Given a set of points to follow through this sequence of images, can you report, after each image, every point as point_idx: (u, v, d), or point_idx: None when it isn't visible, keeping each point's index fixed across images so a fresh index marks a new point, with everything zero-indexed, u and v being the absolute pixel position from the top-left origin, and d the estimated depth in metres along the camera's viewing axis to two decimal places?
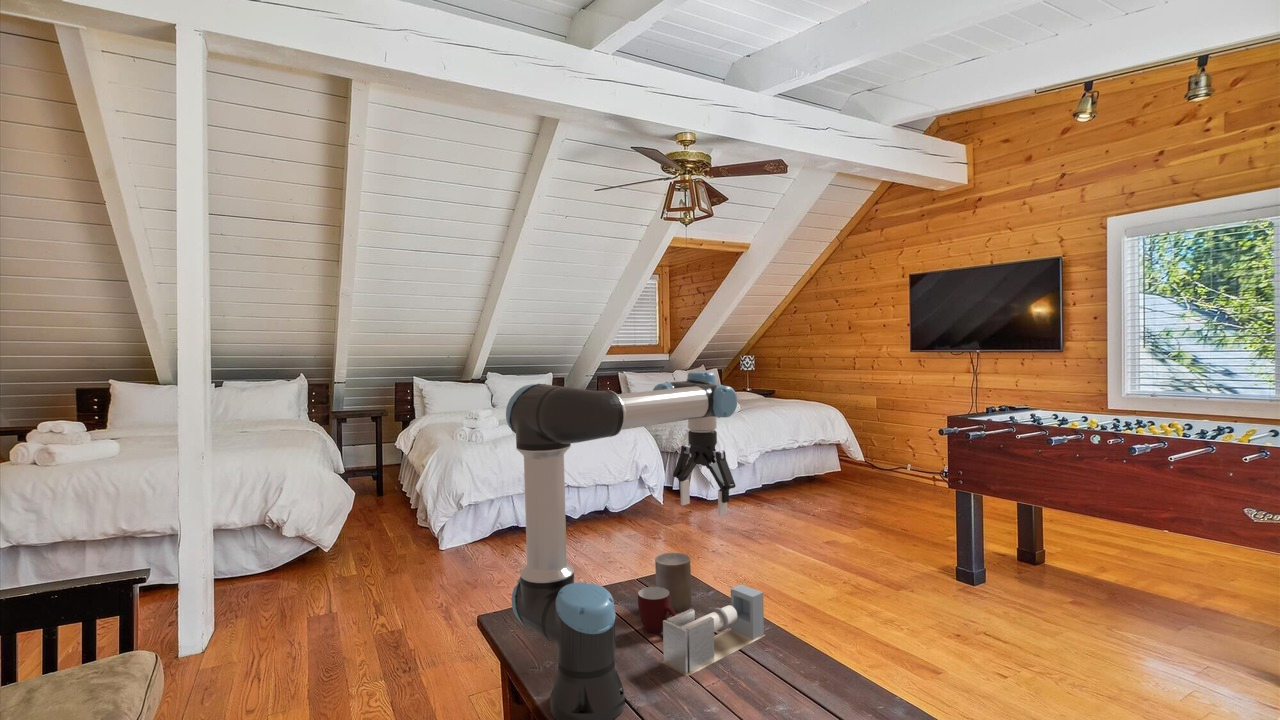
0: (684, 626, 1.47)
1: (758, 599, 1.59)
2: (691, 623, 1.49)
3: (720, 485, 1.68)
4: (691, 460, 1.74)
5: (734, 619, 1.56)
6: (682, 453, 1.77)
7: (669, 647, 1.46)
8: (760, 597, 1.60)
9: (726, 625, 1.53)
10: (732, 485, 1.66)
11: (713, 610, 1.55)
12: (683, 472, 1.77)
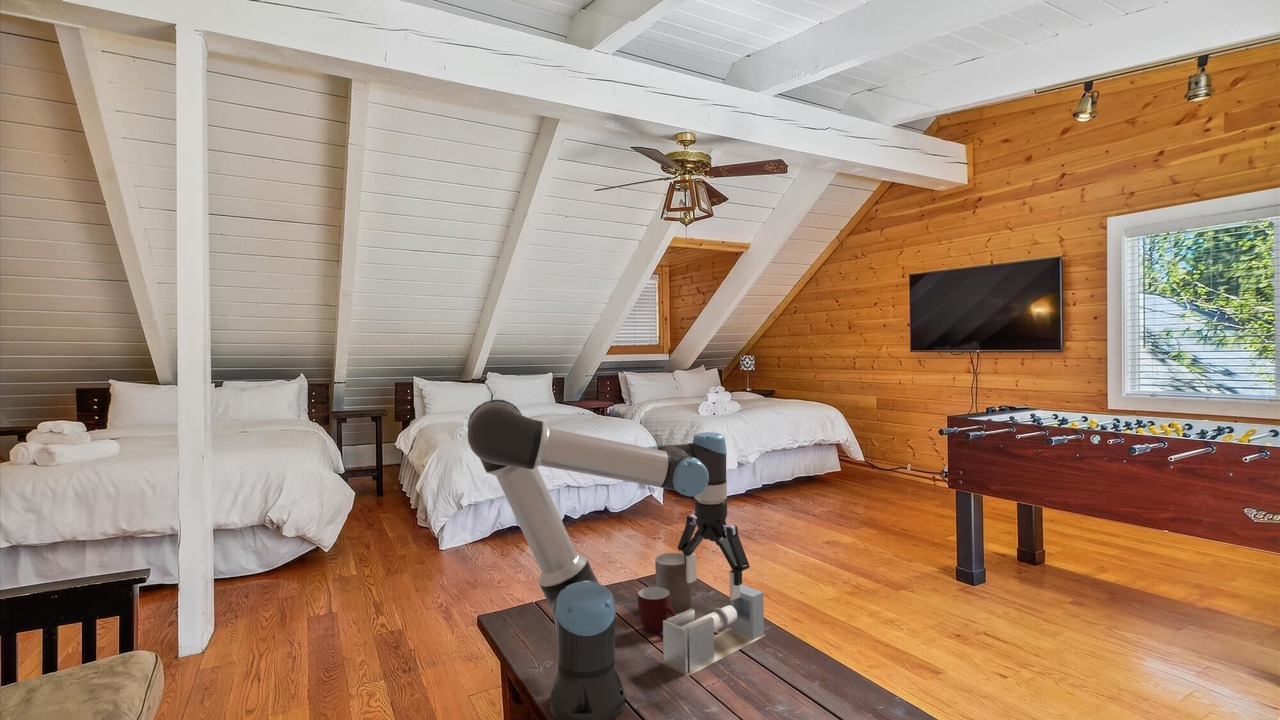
0: (684, 626, 1.47)
1: (758, 599, 1.59)
2: (691, 623, 1.49)
3: (732, 565, 1.46)
4: (698, 534, 1.53)
5: (734, 619, 1.56)
6: (688, 524, 1.56)
7: (669, 647, 1.46)
8: (760, 597, 1.60)
9: (726, 625, 1.53)
10: (746, 566, 1.45)
11: (713, 610, 1.55)
12: (689, 546, 1.56)
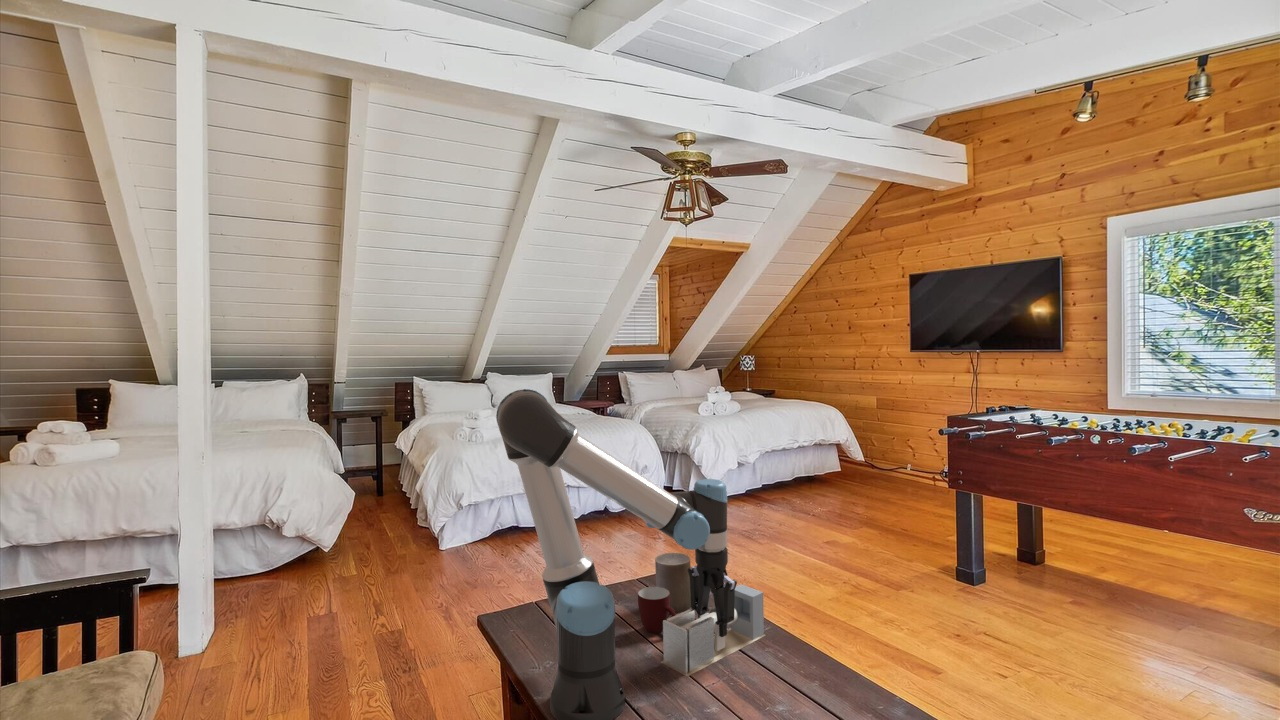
0: (684, 626, 1.47)
1: (758, 599, 1.59)
2: (691, 623, 1.49)
3: (718, 617, 1.50)
4: (702, 583, 1.53)
5: (734, 619, 1.56)
6: (691, 577, 1.56)
7: (669, 647, 1.46)
8: (760, 597, 1.60)
9: None
10: (731, 620, 1.49)
11: (713, 610, 1.55)
12: (700, 602, 1.54)
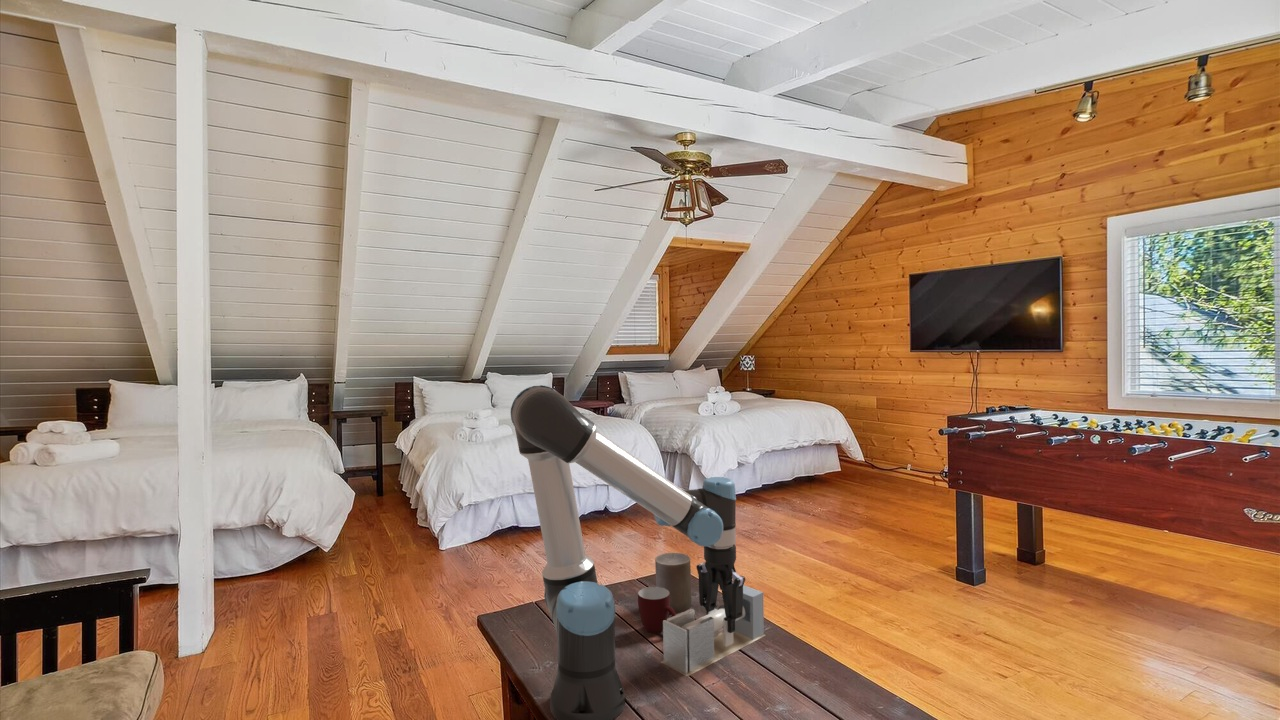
0: (693, 622, 1.49)
1: (758, 599, 1.59)
2: (700, 619, 1.51)
3: (727, 613, 1.52)
4: (710, 580, 1.55)
5: (742, 615, 1.58)
6: (700, 573, 1.58)
7: (669, 647, 1.46)
8: (760, 597, 1.60)
9: None
10: (739, 616, 1.51)
11: (721, 606, 1.57)
12: (708, 598, 1.56)
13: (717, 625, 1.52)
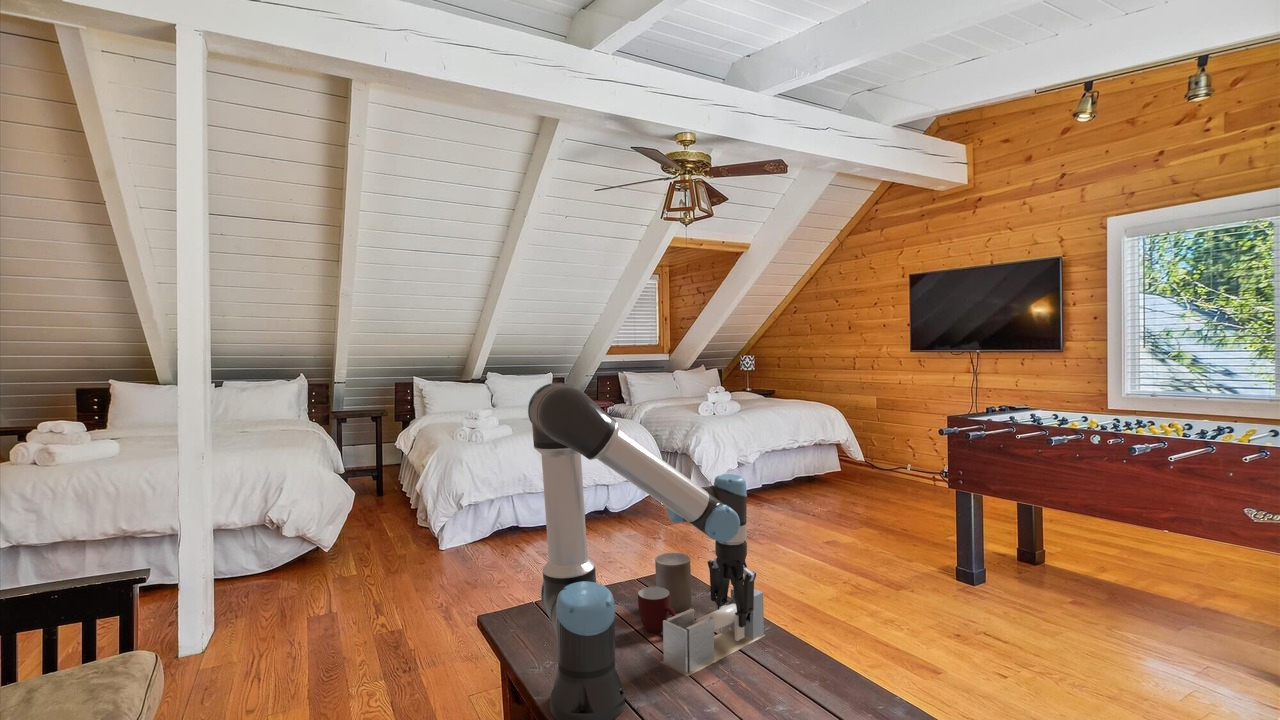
0: (705, 617, 1.52)
1: (758, 599, 1.59)
2: (712, 614, 1.53)
3: (738, 608, 1.55)
4: (721, 575, 1.57)
5: None
6: (711, 569, 1.61)
7: (669, 647, 1.46)
8: (760, 597, 1.60)
9: None
10: (750, 610, 1.54)
11: (732, 601, 1.60)
12: (719, 593, 1.59)
13: (728, 620, 1.54)
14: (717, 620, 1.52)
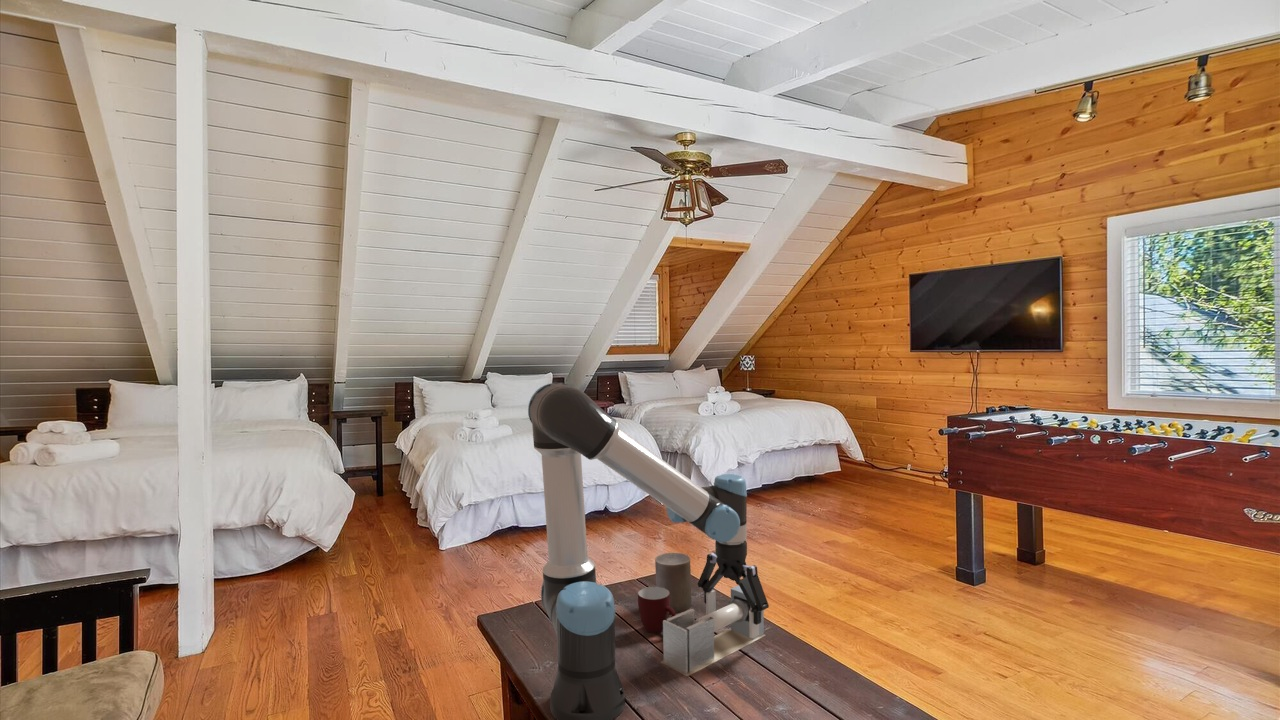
0: (705, 616, 1.52)
1: None
2: (712, 614, 1.53)
3: (752, 605, 1.52)
4: (718, 572, 1.58)
5: None
6: (708, 562, 1.61)
7: (669, 647, 1.46)
8: None
9: (745, 616, 1.57)
10: (765, 606, 1.50)
11: (732, 601, 1.60)
12: (709, 583, 1.61)
13: (728, 620, 1.54)
14: (717, 619, 1.52)
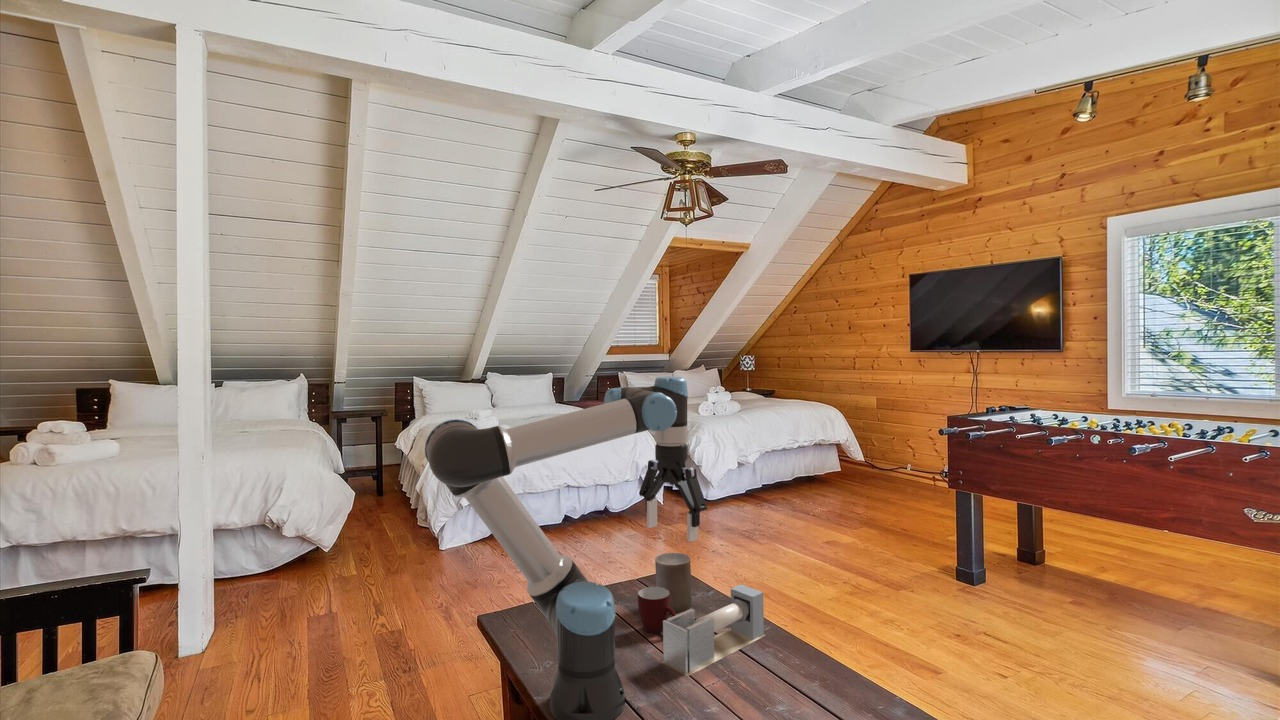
0: (705, 616, 1.52)
1: (758, 599, 1.59)
2: (712, 614, 1.53)
3: (690, 507, 1.47)
4: (658, 477, 1.54)
5: None
6: (649, 469, 1.57)
7: (669, 647, 1.46)
8: (760, 597, 1.60)
9: (745, 616, 1.57)
10: (703, 507, 1.46)
11: (732, 601, 1.60)
12: (650, 490, 1.57)
13: (728, 620, 1.54)
14: (717, 619, 1.52)
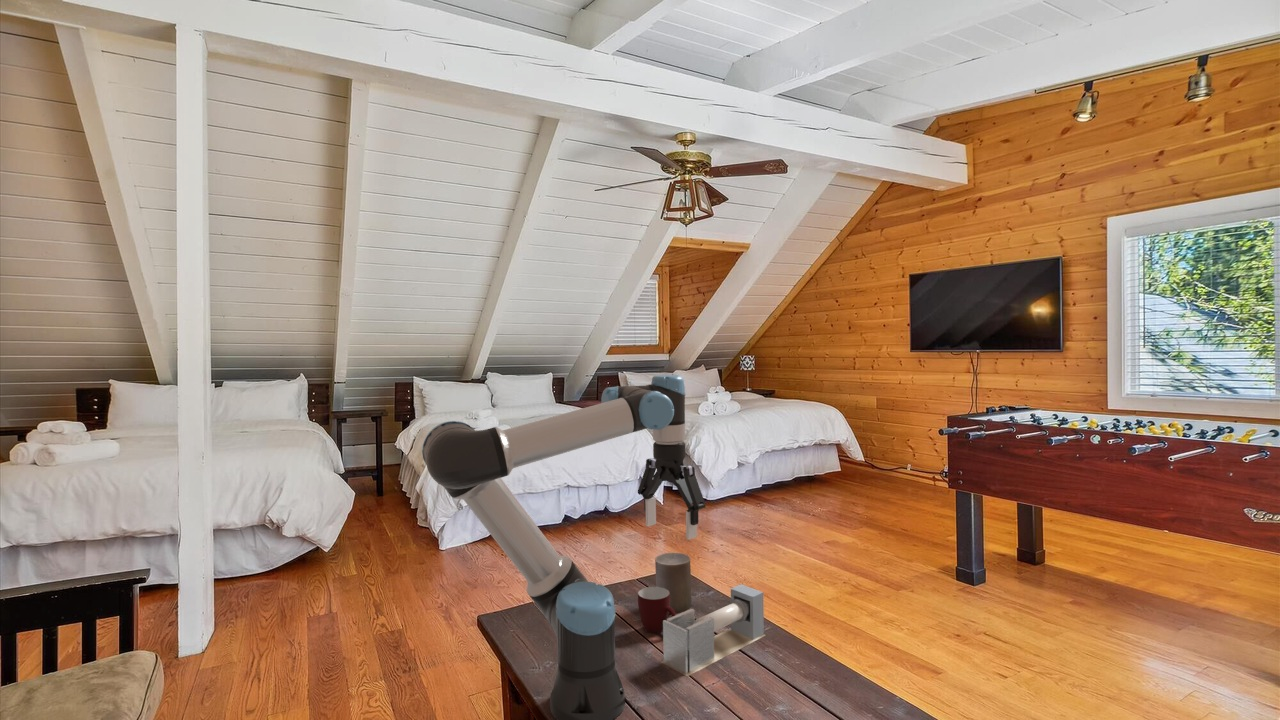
0: (705, 616, 1.52)
1: (758, 599, 1.59)
2: (712, 614, 1.53)
3: (688, 505, 1.47)
4: (657, 476, 1.53)
5: None
6: (647, 467, 1.57)
7: (669, 647, 1.46)
8: (760, 597, 1.60)
9: (745, 616, 1.57)
10: (702, 505, 1.45)
11: (732, 601, 1.60)
12: (649, 489, 1.56)
13: (728, 620, 1.54)
14: (717, 619, 1.52)
